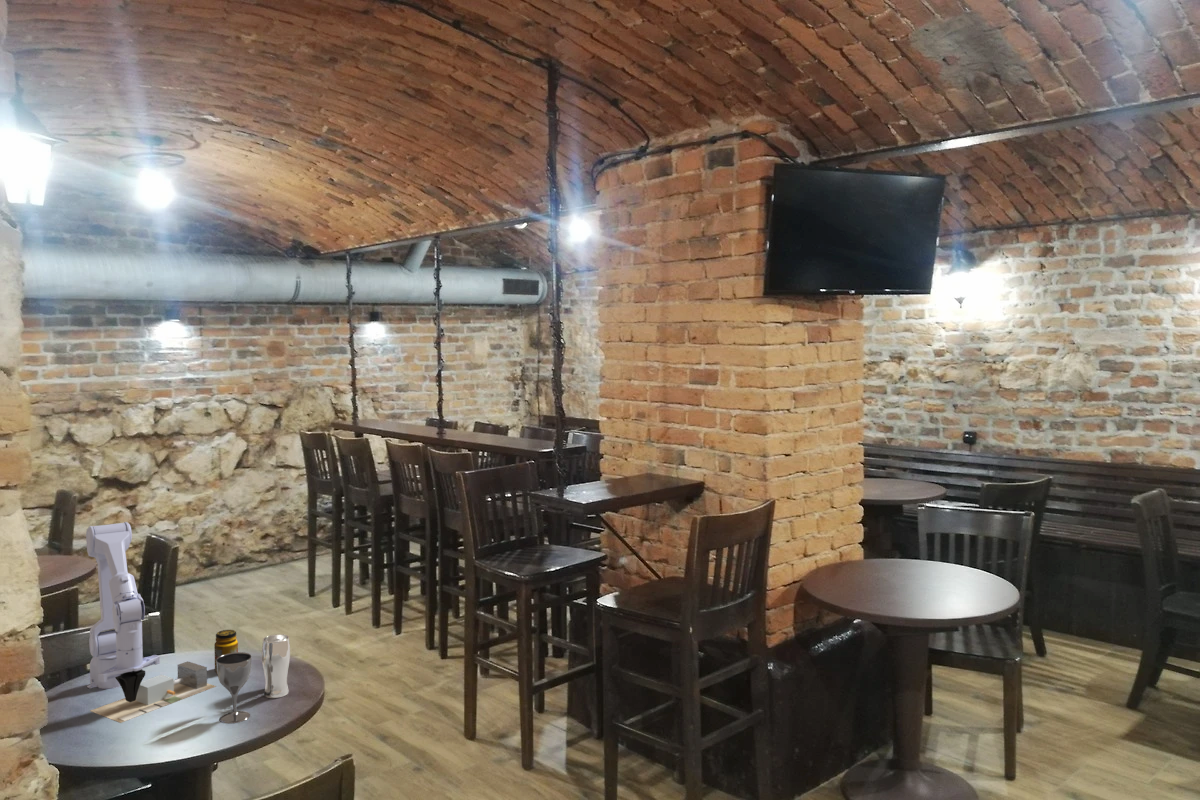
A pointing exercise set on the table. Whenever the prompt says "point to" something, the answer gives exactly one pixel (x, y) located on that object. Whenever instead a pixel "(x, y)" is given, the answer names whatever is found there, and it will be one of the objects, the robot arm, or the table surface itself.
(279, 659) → the beer glass
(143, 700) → the light grey block
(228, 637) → the condiment
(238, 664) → the wine glass
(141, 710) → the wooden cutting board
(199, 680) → the grey rectangular block
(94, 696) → the table surface
